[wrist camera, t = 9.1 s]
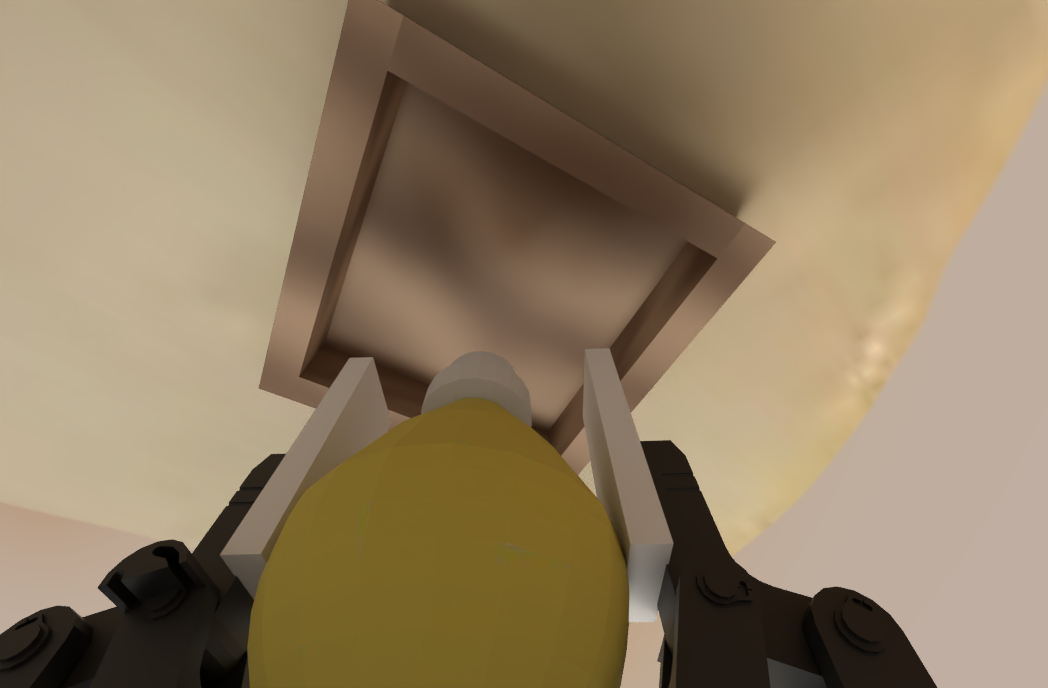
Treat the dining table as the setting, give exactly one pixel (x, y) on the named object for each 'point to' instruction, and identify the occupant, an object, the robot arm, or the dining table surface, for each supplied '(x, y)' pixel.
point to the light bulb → (446, 558)
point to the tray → (486, 238)
